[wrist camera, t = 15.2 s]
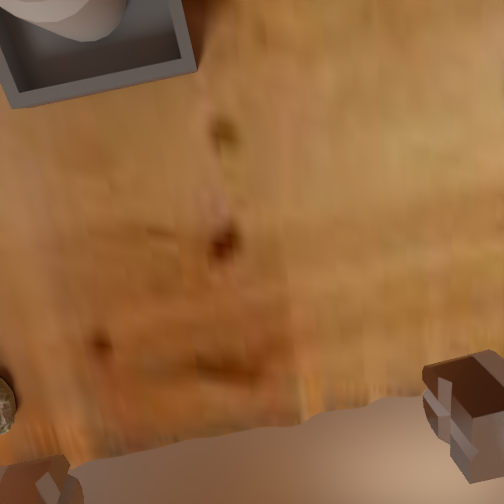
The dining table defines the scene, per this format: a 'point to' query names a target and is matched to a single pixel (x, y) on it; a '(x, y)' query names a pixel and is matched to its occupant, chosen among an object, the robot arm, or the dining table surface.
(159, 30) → the tray
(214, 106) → the dining table surface
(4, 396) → the ceramic model
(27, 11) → the can
